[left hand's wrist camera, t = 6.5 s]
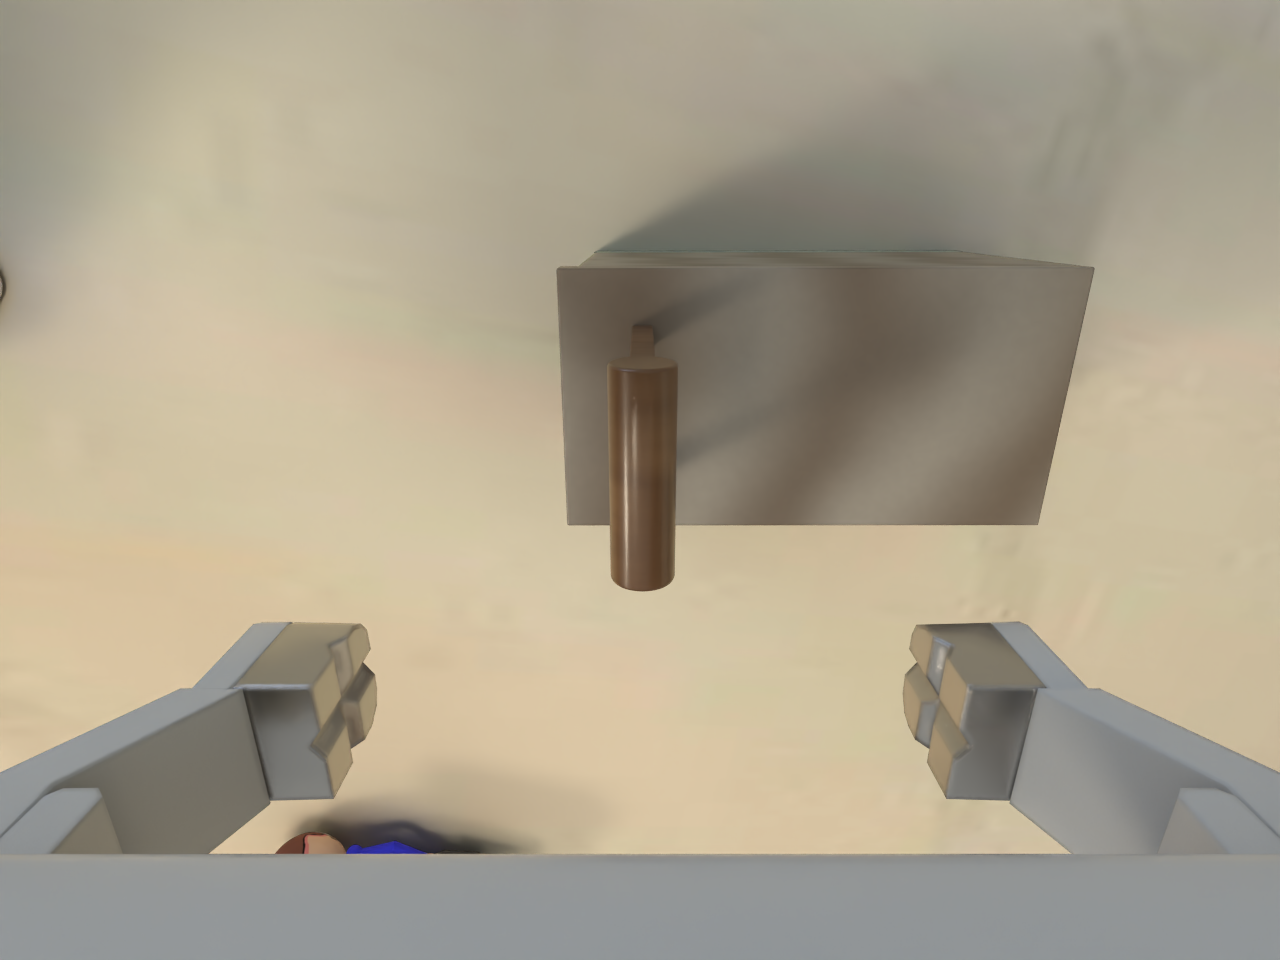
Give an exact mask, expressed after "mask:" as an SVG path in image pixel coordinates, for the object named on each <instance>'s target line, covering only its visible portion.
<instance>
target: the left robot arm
mask: <svg viewBox="0 0 1280 960" xmlns="http://www.w3.org/2000/svg"><path fill="white" fill-rule="evenodd" d="M1 294H2V281H1V278H0V297H1ZM370 649H371V648H370V643H369V638H368V633H367V629H366V628H365V627H364V626H363V625H362V624H355V623H305V622H295V623H292V622H261V623H257V624H253V625H252V626H251V627H250V628H249V629H248V630H247V631H246V632H245V633H244V634H243V636H242V637H241V638H240V639H239V640H238V641H237V642H236V643H235V644H234V645H233V646H232V647H231V648H230V649H229V650H228V651H227V652H226V653H225V654H224V655H223V656H222V658H221V659H220V660H219V661H218V662H217V663H216V664H215V665H214V666H213V667H212V668H211V669H210V670H209V671H208V672H207V673H206V674H205V675H204V676H203V677H202V678H201V680H200V681H199V682H198V683H197V684H196V685H195V686H194V687H193V688H192V689H179V690H176V691H174V692H172V693H170V694H168V695H166V696H164V697H161V698H159V699H157V700H155V701H153V702H151V703H149V704H146V705H144V706H142V707H140V708H138V709H136V710H134V711H131V712H129V713H127V714H125V715H123V716H121V717H118V718H116V719H114V720H112V721H110V722H108V723H106V724H103V725H101V726H99V727H97V728H95V729H93V730H91V731H88V732H86V733H84V734H82V735H80V736H78V737H75V738H73V739H71V740H69V741H67V742H65V743H63V744H60V745H58V746H56V747H54V748H52V749H50V750H48V751H45V752H43V753H41V754H39V755H37V756H35V757H33V758H30V759H28V760H26V761H24V762H22V763H20V764H17V765H15V766H13V767H11V768H9V769H7V770H5V771H2V772H0V960H1280V773H1279V772H1277V771H1275V770H1273V769H1271V768H1269V767H1266V766H1264V765H1262V764H1260V763H1258V762H1256V761H1254V760H1251V759H1249V758H1247V757H1245V756H1243V755H1241V754H1239V753H1236V752H1234V751H1232V750H1230V749H1228V748H1226V747H1224V746H1221V745H1219V744H1217V743H1215V742H1213V741H1211V740H1209V739H1206V738H1204V737H1202V736H1200V735H1198V734H1196V733H1194V732H1191V731H1189V730H1187V729H1185V728H1183V727H1181V726H1179V725H1176V724H1174V723H1172V722H1170V721H1168V720H1166V719H1164V718H1161V717H1159V716H1157V715H1155V714H1153V713H1151V712H1149V711H1146V710H1144V709H1142V708H1140V707H1138V706H1136V705H1134V704H1131V703H1129V702H1127V701H1125V700H1123V699H1121V698H1119V697H1116V696H1114V695H1112V694H1110V693H1108V692H1106V691H1104V690H1101V689H1088V688H1087V687H1086V686H1085V685H1084V684H1083V683H1082V682H1081V681H1080V679H1079V678H1078V677H1077V676H1076V675H1075V674H1074V673H1073V672H1072V671H1071V670H1070V669H1069V668H1068V667H1067V666H1066V665H1065V664H1064V663H1063V662H1062V661H1061V660H1060V658H1059V657H1058V656H1057V655H1056V654H1055V653H1054V652H1053V651H1052V650H1051V649H1050V648H1049V647H1048V646H1047V645H1046V644H1045V643H1044V642H1043V641H1042V640H1041V639H1040V637H1039V636H1038V635H1037V634H1036V633H1035V632H1034V631H1033V630H1032V629H1031V628H1030V627H1029V626H1028V625H1026V624H1024V623H1021V622H994V623H969V624H929V625H916V627H915V629H914V631H913V633H912V637H911V642H910V648H909V649H910V651H911V653H912V654H913V656H914V658H915V659H916V661H917V663H916V664H915V665H914V666H913V667H912V668H911V669H910V670H909V671H908V672H907V673H906V674H905V680H904V688H903V702H904V713H905V716H906V720H907V723H908V726H909V728H910V730H911V732H912V734H913V736H914V738H915V740H917V741H918V742H920V743H921V744H923V745H924V746H926V747H927V748H929V754H928V759H927V763H928V765H929V767H930V769H931V771H932V773H933V774H934V776H935V778H936V780H937V782H938V784H939V786H940V788H941V789H942V791H943V793H944V795H945V797H946V799H972V800H1008V801H1010V804H1011V805H1012V806H1013V807H1015V808H1016V809H1017V810H1018V811H1020V812H1021V813H1022V814H1023V815H1024V816H1026V817H1027V818H1028V819H1029V820H1031V821H1032V822H1033V823H1034V824H1036V825H1037V826H1038V827H1039V828H1041V829H1042V830H1043V831H1044V832H1046V833H1047V834H1048V835H1049V836H1051V837H1052V838H1053V839H1054V840H1055V841H1057V842H1058V843H1059V844H1060V845H1062V846H1063V847H1064V848H1065V849H1067V850H1068V851H1069V852H1070V853H1072V854H209V853H210V852H211V851H212V850H214V849H215V848H216V847H217V846H219V845H220V844H221V843H222V842H224V841H225V840H226V839H227V838H228V837H230V836H231V835H232V834H233V833H235V832H236V831H237V830H238V829H240V828H241V827H242V826H243V825H245V824H246V823H247V822H248V821H250V820H251V819H252V818H253V817H255V816H256V815H257V814H258V813H260V812H261V811H262V810H263V809H265V808H266V807H267V806H268V805H269V804H270V801H272V800H307V799H334V797H335V795H336V793H337V791H338V790H339V788H340V786H341V784H342V782H343V780H344V778H345V776H346V775H347V773H348V771H349V769H350V767H351V765H352V763H353V759H352V754H351V748H353V747H354V746H356V745H357V744H359V743H360V742H362V741H363V740H365V738H366V736H367V734H368V732H369V730H370V728H371V726H372V724H373V719H374V715H375V710H376V706H377V686H376V679H375V674H374V673H373V672H372V671H371V670H370V669H369V668H368V667H367V666H366V665H365V664H364V663H363V661H364V659H365V658H366V656H367V654H368V653H369V651H370Z"/></svg>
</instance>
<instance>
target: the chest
mask: <svg viewBox="0 0 1280 960" xmlns="http://www.w3.org/2000/svg"><path fill="white" fill-rule="evenodd" d="M580 266H1076V265H1070V264H1061V263H1053V262H1044V261H1035V260H1027V259H1018V258H1010V257H1001V256H993V255H984V254H976V253H967V252H962V251H596V252H594V254H593V255H592V256H591V257H589V258H588V259H587V260H586V261H584V262H583V263H582V264H581V265H580Z"/></svg>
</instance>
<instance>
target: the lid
mask: <svg viewBox="0 0 1280 960" xmlns="http://www.w3.org/2000/svg"><path fill="white" fill-rule="evenodd" d="M1093 273H1094V268H1093V267H1087V266H561V267H559V268H557V293H558V316H559V339H560V363H561V386H562V410H563V433H564V457H565V480H566V503H567V524H568V525H610V554H611V577H612V579H613V581H614V582H615V583H616V584H617V585H619V586H620V587H622V588H625V589H628V590H633V591H652V590H657V589H660V588H663V587H665V586H667V585H668V584H670V583H671V582H672V580H673V578H674V575H675V525H1038V522H1039V517H1040V513H1041V508H1042V504H1043V499H1044V495H1045V490H1046V485H1047V481H1048V476H1049V472H1050V467H1051V463H1052V458H1053V454H1054V449H1055V445H1056V440H1057V436H1058V431H1059V427H1060V422H1061V418H1062V413H1063V409H1064V404H1065V400H1066V395H1067V391H1068V386H1069V382H1070V377H1071V373H1072V368H1073V364H1074V359H1075V355H1076V350H1077V345H1078V341H1079V336H1080V332H1081V327H1082V323H1083V318H1084V314H1085V309H1086V305H1087V300H1088V296H1089V291H1090V287H1091V282H1092V278H1093Z"/></svg>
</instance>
